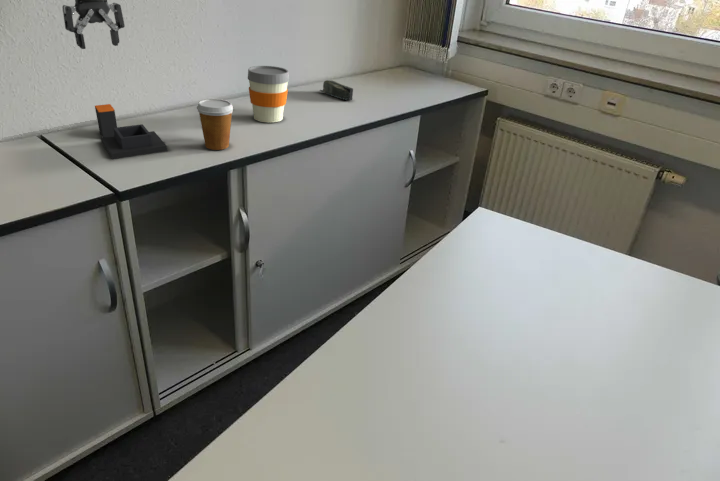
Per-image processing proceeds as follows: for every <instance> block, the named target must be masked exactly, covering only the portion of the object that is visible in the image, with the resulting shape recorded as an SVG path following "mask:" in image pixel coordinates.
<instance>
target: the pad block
mask: <svg viewBox="0 0 720 481" xmlns="http://www.w3.org/2000/svg"><path fill="white" fill-rule="evenodd" d="M94 110H95V115H96V122H97V127H98V130H99V131H98V132H99V135H100V136H101V138H105V137H112V136H114V130H113V128H115V127H118V122H117V116H116V111H115V108H114V107H113V106H112V104H111V103H107V104H97V105H94Z"/></svg>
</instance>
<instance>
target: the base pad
mask: <svg viewBox="0 0 720 481" xmlns="http://www.w3.org/2000/svg"><path fill="white" fill-rule="evenodd" d="M113 130H114V136H112V137H105V138H102V137H101V138H100V141H101V144H102V146H103V147H104V150H106V152H107V154H108V155H109V157H110V158H111V160H114V159H115V160H116V159H117V160H118V159H122V158H123V159H124V158H129V157H130V158H131V157H136V156H142V155H144V156H145V155H149V154H156V153H163V152H168V145H167V144H166V143H165V142H164V141H163V139H162V138H161V137H160V136H159V135H158V133H156V131H155V130H152V131H149V129H148V128H146V126H145V125H144V124H143V123H142V124H141V123H140V124H133V125H125V126H117V127H115V128H113Z"/></svg>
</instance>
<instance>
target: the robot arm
mask: <svg viewBox="0 0 720 481" xmlns="http://www.w3.org/2000/svg"><path fill="white" fill-rule="evenodd" d="M110 10H111V13H113V16H114V20H115V22H114V21H113V20H112V18H111V17H110V16H109V12H110ZM75 12H76V13H77V14H78V17H77V19H76V21H75V23H74V18H73V16H74V15H75ZM62 15H63V23H64V28H65V30H66V31H68V32H71V33H74V37H75V43H76V45H77V47H79V48H80V49H81V50H86V42H85V38H84V34H83V31H84V30H85V28H86V27H87V26H88V24H95V23H96V24H97V23H99V24H101V23H104V24H105V25H107V26H108V27H109V29H110V30H109V33H110V40H111V44H112V46H115V47H116V46H117V47H118V46H119V44H120V36H119V35H120V34H119V31H120V30H121V29H124V28H125V27H126V26H125V20H124V14H123V10H122V6H121V4H119V3H117V2H113V3H109V2H108V0H74V5H66V4H63V5H62Z"/></svg>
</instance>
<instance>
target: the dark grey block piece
mask: <svg viewBox="0 0 720 481" xmlns="http://www.w3.org/2000/svg"><path fill="white" fill-rule="evenodd" d="M322 84H323V85H322V89H319V92H321V93H323V94H326V95H329V96H331V97H335V98H337V99H340V100H342V101H348V102H349V101H353V94H354V88H352V87H351V86H348V85H345V84H343V83H340V82H337V81H335V80H331V79H330V80H328V79H327V80H324V81H323V83H322Z"/></svg>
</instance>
